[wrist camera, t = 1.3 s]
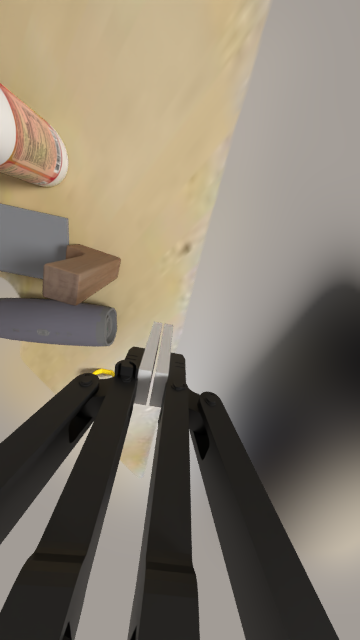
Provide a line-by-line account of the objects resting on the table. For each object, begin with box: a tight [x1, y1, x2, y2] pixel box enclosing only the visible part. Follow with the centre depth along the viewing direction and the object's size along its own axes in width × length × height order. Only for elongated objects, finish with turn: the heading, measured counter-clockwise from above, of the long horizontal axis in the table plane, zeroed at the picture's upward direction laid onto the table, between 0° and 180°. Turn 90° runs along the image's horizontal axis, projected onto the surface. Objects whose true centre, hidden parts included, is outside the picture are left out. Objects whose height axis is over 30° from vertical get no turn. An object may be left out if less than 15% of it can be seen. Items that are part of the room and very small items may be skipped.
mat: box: [0, 204, 69, 279], centre depth 39 cm, size 13×16×1 cm
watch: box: [92, 369, 115, 377], centre depth 50 cm, size 6×3×6 cm, turn 77°
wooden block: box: [43, 244, 121, 306], centre depth 32 cm, size 9×4×18 cm, turn 71°
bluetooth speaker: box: [0, 298, 117, 346], centre depth 41 cm, size 23×9×10 cm, turn 85°
